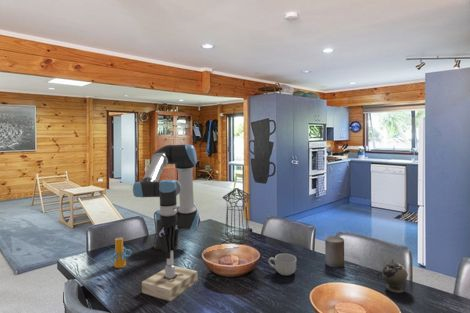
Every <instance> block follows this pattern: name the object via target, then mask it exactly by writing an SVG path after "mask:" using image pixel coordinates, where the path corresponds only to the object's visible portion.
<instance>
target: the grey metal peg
mask: <svg viewBox="0 0 470 313" xmlns="http://www.w3.org/2000/svg"><path fill="white" fill-rule="evenodd" d="M175 266H176V265H175V264H173V265H172V266H171V265H167V264H165V265H164V269H165V279H167V280H171V279H175Z"/></svg>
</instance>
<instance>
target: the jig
mask: <svg viewBox="0 0 470 313" xmlns="http://www.w3.org/2000/svg"><path fill="white" fill-rule="evenodd" d="M198 278H199V277H198V271H197V270H195V269H194V270H193V269H188V268H185V267H181V266H177V265H175V279H171V280H167V279H165V268H163V269H162V270H160V271H158V272H157V273H155V274H153V275H151V276H149V277H148V278H146V279H144V280H143V281H141V293H142V294H145V295H148V296H152V297H154V298H158V299H160V300H161V299H162V300H163V301H164V300H165V301H168V302H172V301H173V300H174V299H176V298H177V297H178V296H180V295H181V294H182V293H184V292H185V291H187V290H188V289H189V288H190V287H192V286H194V285H195V284H196V283H198V280H199V279H198Z"/></svg>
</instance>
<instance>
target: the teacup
mask: <svg viewBox="0 0 470 313" xmlns="http://www.w3.org/2000/svg"><path fill="white" fill-rule="evenodd" d="M271 261H273V263H274V264H272V262H271ZM267 262H268V264H269V266H270V267H272V268H274V269H275V270H276V272H277V273H279V275H281V276H291V275H293V274H294V273H295V272H296V270H297V257H296V256H295V255H293V254H290V253H278V254H276V255H275V257H272V256H271V257H269V258H268V260H267Z"/></svg>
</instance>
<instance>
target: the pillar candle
mask: <svg viewBox="0 0 470 313" xmlns="http://www.w3.org/2000/svg"><path fill="white" fill-rule="evenodd" d="M324 240H325V241H324V242H325V243H324V246H325V250H324V252H325V265H327V266H328V267H330V268H335V269H336V268H338V269H339V268H342V267H344V266H345V239H344V238H343V237H341V236H337V235H336V236H334V235H333V236H332V235H330V236H326V237H325V238H324Z"/></svg>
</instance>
